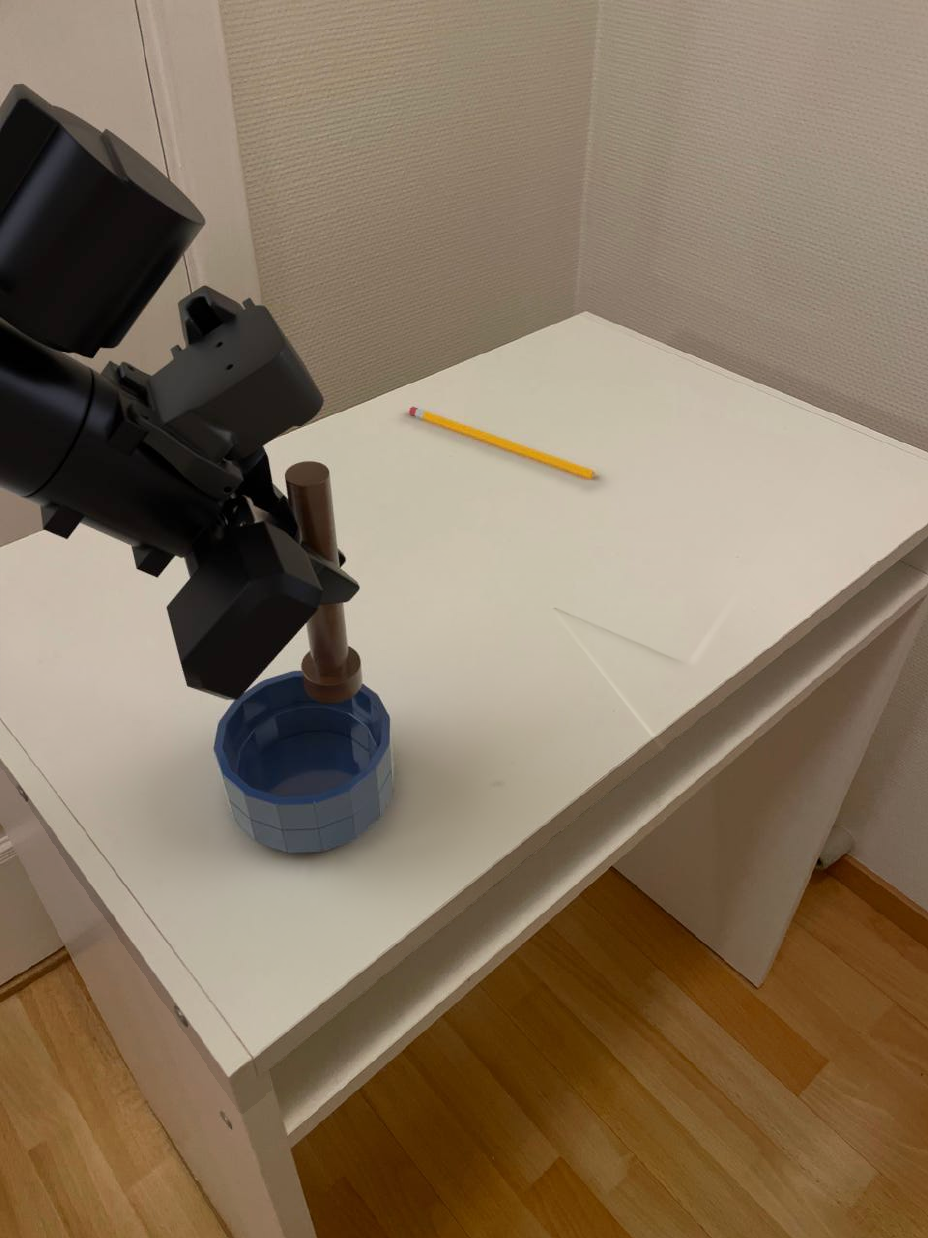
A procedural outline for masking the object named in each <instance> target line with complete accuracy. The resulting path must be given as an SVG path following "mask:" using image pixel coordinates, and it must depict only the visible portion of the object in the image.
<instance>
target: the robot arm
mask: <svg viewBox="0 0 928 1238" xmlns="http://www.w3.org/2000/svg"><path fill="white" fill-rule="evenodd" d="M204 226H206V219H205V216H204V215H203V213H202V212H201V211H200V209H199V208H198V207H197V206H196V205H195V203H193V201H191V199H190V198H189V197H188V196H187V195H186V193H184V191H183V190H181V189H180V188H179V187H178V186H177V185H176V184H175V183H174V182H173V181H172V180H170V178H169V177H167V176H166V175H165V174H164V173H163V172H161V170H159V169H158V168H157V167H156V166H155V165H154V164H152V163H151V162H150V161H149V160H148V159H147V158H145V157H144V156H143V155H142V154H141V153H140V152H138V151H137V150H135V149H134V148H133V147H131V146H130V145H129V144H128V143H127V142H126V141H124V140H123V139H122V138H120V137H119V136H117V135H116V134H115V133H114V132H112V131H110V130H109V129H108V128H104V130H103V132H102V131H101V130H99V129H98V128H97V127H96V126H94V125H92V124H91V123H89V122H88V121H87V120H84V119H83V118H81V117H80V116H78V115H76V114H75V113H73V112H71V111H69V110H67V109H65V108H63V107H60V106H57V105H52V104H51V103H50V102H48V100H46V99H45V98H43V97H42V96H40V95H39V94H38V93H37V92H35V91H34V90H33V89H31V88H30V87H29V86H27V85H26V84H24V83H15V84H13V85H12V86H11V88H10V90H9V91H8V94H6V97H5V98H4V100H3V101H2V103H1V105H0V488H1V489H3V490H5V491H7V492H10V493H12V494H15V495H16V496H19V497H20V498H22V499H25V500H27V501H29V502H32V503H34V504H36V505H39V507H40V508H39V509H40V515H41V523H42V529H43V530H44V531H46V532H49V533H51V534H53V535H56V536H58V537H61V538H63V539H65V540H68V539H69V538H70V536H71V535H72V534H73V533H74V531H75V530H76V529H77V527H78V526H79V525H80V524H81V525H84V526H86V527H88V528H91V529H93V530H95V531H96V532H100V533H102V534H104V535H107V536H108V537H110V538H113V539H115V540H118V541H120V542H122V543H124V544H127V545H128V546H129V545H130V547H131V551H132V554H133V560H134V563H135V569H136V570H138V571H140V572H143V573H145V574H147V575H150V576H152V577H154V578H157V579H158V578H159V577H160V576H161V574H162V573H163V572H164V571H165V570H166V569H167V567H168V566H169V564H170V563H171V562H172V561H173V559H174V558H175V557H178V558H179V559H184V563H185V566H186V569H187V573H188V576H189V578H188V580H187V581H186V582H185V584H184V585H183V586H182V587H181V589H180V590H178V592H177V593H176V594H175V595H174V597H173V598H172V599H171V601H170V602H169V603H168V604H167V605H166V611H167V615H168V619H169V623H170V627H171V631H172V635H173V639H174V642H175V646H176V651H177V655H178V659H179V662H180V666H181V669H182V673H183V677H184V680H185V684H186V687H188V688H191V689H193V690H197V691H200V692H201V693H206V694H208V695H211V696H213V697H217V698H219V699H222V700H225V701H234V700H238V699H239V698H240V697H241V696H242V695H243V694H244V693H245V692H246V691H247V690H249V689H250V688H251V686H252V685H253V684H254V682H255V681H256V680H257V679H259V677H260V676H261V675H262V673H264V671H265V670H266V669H267V668H268V666H269V665H271V663H272V662H273V661H274V660H275V659H276V658H277V657H278V655H279V654H280V653H281V652H282V651H283V650H284V649H285V648H286V647H287V645H288V644H290V642H291V641H292V640H293V639H294V638H295V636H296V635H297V634H299V632H300V631H301V629H302V628H304V626H306V623H307V622H308V620H309V619H310V618H311V617H312V616H313V615H314V614H315V613H316V611H317V610H318V607H319V605H325V604H335V603H343V604H345V603H348V602H350V601H351V600H352V599H353V598H354V596H356V595H357V593H358V592H359V591H360V589H361V587H360V584H359V583H358V581H357V580H356V579H354V577H352V576H351V575H349V574H348V573H347V572H346V571H345V570H343V569H342V567H343V566H344V564H346V562H347V557H346V555H345V553H344V552H342V550H341V549H340V548H338V557H339V567H340V568H339V567H338V566H337V565H335V564H334V563H333V562H331V561H330V560H329V559H327V558H326V557H324V556H323V555H322V554H320V553H319V552H318V551H316V550H315V549H314V548H312V547H311V546H309V545H308V544H307V543H305V542H304V541H303V540H302V534H301V529H300V527H299V524H298V522H297V520H296V518H295V516H294V513H293V511H292V509H291V507H290V504H289V502H288V496H286V495H285V494H284V493H283V492H282V491H281V490H280V488H278V487H277V486H276V485H275V484H274V482H273V477H272V470H271V464H270V459H269V456H268V453H267V451H266V449H265V445H267V444H268V443H270V442H271V441H273V440H275V439H276V438H278V437H279V436H281V435H282V434H285V432H287V431H289V430H290V429H291V428H293V427H302V426H305V425H306V424H307V423H309V422H311V420H313V419H315V417H316V416H318V414H319V413H320V412H321V410H322V408H323V406H324V402H325V398H324V396H323V393H322V392H321V389H320V388H319V387H318V385H317V384H316V382H315V380H314V378H313V376H312V375H311V373H310V371H309V369H308V368H307V366H306V364H305V363H304V361H303V360H302V358H301V357H300V355H299V354H298V352H297V351H296V349H295V348H294V346H293V345H292V343H291V341H290V340H289V339H288V337H287V336H286V334H285V333H284V331H283V330H282V328H281V327H280V325H279V323H278V322H277V321H276V319H275V318H274V316H273V315H272V313H271V312H270V310H269V309H268V308H267V306H265V305H261V304H255V303H254V301H253V300H252V298H251V297H248V298H246V299H245V300H243V301H242V305H243V306H242V305H241V304H240V303H239V302H238V301H236V300H234V299H233V298H230V297H229V296H227V295H225V294H223V293H221V292H219V291H217V290H216V289H214V288H212V287H210V286H208V285H206V284H205V285H202V286H200V287H198V288H197V289H196V290H194V291H192V292H190V293H189V294H187V296H185V297H183V298H182V299H180V300H179V301H178V302H177V309H178V313H179V319H180V325H181V333H182V337H183V340H184V342H185V348H182V347H181V346H180V345H179V344H175V345H174V346H173V347H171V348H170V352H171V355H172V359H171V360H170V361H169V362H168V363H167V364H166V365H164V366H163V367H162V368H160V369H159V370H157V371H156V372H155V373H154V374H152V375H151V374H150V373H149V374H148V373H146V372H144V371H142V370H140V369H139V368H137V367H136V366H134V365H132V364H130V363H129V362H126V361H121V362H120V364H117V363H115V362H114V361H112V360H109V361H108V362H107V364H106V365H105V366H104V368H103V369H102V371H101V372H99V371H97V370H95V369H93V368H92V367H90V366H88V365H86V364H85V363H82V361H79V360H77V359H75V358H74V357H72V356H70V355H68V354H76V355H78V356H81V357H85V358H88V359H94V358H95V356H96V355H97V353H98V352H99V351H100V349H116V348H117V347H118V346H119V345H120V344H121V343H122V341H123V340H124V339H125V337H126V336H127V334H128V333H129V332H130V330H131V329H132V327H133V326H134V325H135V323H136V322H137V321H138V319H139V317H140V316H141V315H142V313H143V312H144V310H145V309H146V308H147V306H148V305H149V304H150V302H151V301H152V299H153V298H154V297H155V296H156V294H157V292H158V291H159V290H160V288H161V286H162V285H163V284H164V283H165V281H166V279H167V278H168V277H169V275H170V274H171V273H172V271H173V270H174V268H175V267H176V265H177V264H178V263H179V262H180V260H181V259H182V258H183V256H184V255H185V253H186V252H187V250H188V249H189V247H190V246H191V245H192V243H193V242H194V240H196V238H197V236H198V235H199V233H200V232H201V230H202V229H203V228H204Z"/></svg>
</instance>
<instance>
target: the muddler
mask: <svg viewBox="0 0 928 1238" xmlns="http://www.w3.org/2000/svg"><path fill="white" fill-rule="evenodd" d="M330 475H331V473H330V469H329V467H328V466H327V465H326V464H323V463H321V462H319V461H314V460H313V461H312V460H305V461H300V462H296V463H294V464H292V465H291V466H289V467H288V468H287V469H286V470H285V472H284V480H285V488H286V495H287V498H288V502H289V504H290V507H291V509H292V511H293V513H294V516H295V518H296V520H297V522H298V524H299V527H300V529H301V534H302V540H303V541H304V542H305V543H307V544H308V545H309V546H311V547H312V548H314V549H315V550H316V551H318V552H319V553H320V554H322V555H323V556H324V557H326V558H327V559H329V560H330V561H331V562H333V563H334V564H335V565H337V566H338V567H339V557H338V549H339V548H338V539H337V530H336V522H335V512H334V511H335V509H334V503H333V502H334V501H333V494H332V492H333V491H332V483H331V476H330ZM339 568H340V567H339ZM345 615H346V614H345V603H335V604H325V605H319V607H318V610H317V611H316V613H315V614H314V615H313V616H312V617H311V618H310V619H309V620H308V622H307V623H306V624H305V626H306V631H307V633H306V634H307V638H308V639H307V640H308V646H309V651H307V653H306V654H305V655H304V656H303V658H302V660H301V664H300V667H301V668H300V669H301V670H300V671H302V676H303V683H304V688H305V691H306V693H307V694H308V695H309V696H310V697H311V698H312V699H314V700H316V701H318V702H321V703H327V704H334V703H340V702H344V701H346V700H348V699H350V698H352V697H353V696H354V695H356V694H357V692H358V691H359V690H360V688H361V686H362V683H363V671H362V660H361V657H360V654H359V653H358V652H357V651H356V649H354V647H351V646H350V645H349V644H348V643H349V642H348V632H347V623H346V616H345Z"/></svg>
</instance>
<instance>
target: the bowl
mask: <svg viewBox="0 0 928 1238" xmlns="http://www.w3.org/2000/svg"><path fill="white" fill-rule="evenodd" d="M212 749H213V754H214V757H215V762H216V765H217V768H218V771H219V775H220V779H221V783H222V786H223V790H224V793H225V797H226V801H227V803H228V806H229V809H230V812H231V815H232V818H233V821H234V822H235V824H236V825H237V826H238V827H239V828H240V829H241V830H242V831H244V832H245V833H246V834H247V835H248V836H249V837H250V839H252V840H253V841H255V842H256V843H258V844H260V845H263V846H266V847H268V848H272V849H274V850H278V851H281V852H284V853H288V854H293V853H294V854H296V853H299V854H300V853H320V852H321V853H322V852H326V851H328V850H331V849H334V848H337V847H339V846H341V845H345V844H347V843H349V842H352V841H355V840H357V838H359V837H360V836H361V835H362V834H363V833H364V832H366V831H367V830H368V829H369V828H370V827H372V826H373V825H374V824H375V823H376V822H378V820H380V818H381V817H382V815H383V813H384V811H385V809H386V808H387V805H388V803H389V801H390V800H391V798H392V795H394V794H393V793H394V785H395V784H394V783H395V781H394V775H395V774H394V773H395V772H394V771H395V766H394V765H395V764H394V752H393V751H394V750H393V737H392V723H391V717H390V714H389V713H388V711H387V709H386V707H385V705H384V703H383V702H382V700H381V697H380V696H379V694H378V693H377V692H375V691H374V690H372V689H371V688H370V687H368V686H367V685H366V684H364V683H363V682H362V686H361V688H360V690H359V691H358V692H357V694H356V695H354V696H353V697H352V698H350V699H348V700H346V701H344V702H340V703H334V704H327V703H321V702H318V701H316V700H314V699H312V698H311V697H310V696H309V695H308V694H307V693H306V691H305V688H304V683H303V676H302V670H291V671H287V672H285V673H282V674H279V675H276V676H272V677H269V678H266V679H263V680H261V681H259V682H257V683H256V684H255V685H253V686H252V687H249V688H248V689H247V690H246V691H245V692H244V694H243V695H242V696H241V697H240V698H239V699H238V700H233V701H232V703H231V704H230V705H229V706H228V709H227V710H226V711H225V712H224V714H223V716H222V717H221V718H220V719H219V721H218V723H217V728H216V733H215V737H214V743H213V748H212Z"/></svg>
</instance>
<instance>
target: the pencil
mask: <svg viewBox="0 0 928 1238" xmlns="http://www.w3.org/2000/svg"><path fill="white" fill-rule="evenodd" d="M408 413H409V415H410V416H411V417H414V418H417V419H420V420H423V421H425V422H429V423H431V424H434V425H437V426H439V427H442V428H445V429H447V430H451V431H454V432H456V433H460V434H462V435H465V436H467V437H470V438H473V439H476V440H479V441H482V442H485V443H487V444H490V445H493V446H495V447H497V448H501V449H504V450H506V451H509V452H512V453H515V454H517V455H521V456H523V457H526V458H529V459H532V460H535V461H537V462H540V463H543V464H546V465H548V466H552V467H554V468H556V469H559V470H563V471H564V472H568V473H570V474H574V475H576V476H580V477H582V478H585V479H587V480H592V479H594V476H595V470H593V469H590V468H588V467H585V466H582V465H579V464H576V463H574V462H571V461H568V460H565V459H562V458H559V457H557V456H554V455H551V454H549V453H546V452H542V451H540V450H538V449H534V448H531V447H530V446H529V447H528V446H526V445H523V444H520V443H517V442H515V441H512V440H509V439H506V438H503V437H501V436H497V435H495V434H492V433H489V432H486V431H483V430H480V429H477V428H475V427H472V426H469V425H466V424H463V423H461V422H458V421H455V420H452V419H450V418H446V417H444V416H441V415H438V414H436V413H432V412H430V411H427V410H424V409H421V408H419V407H415V406H412V407H410V408H409V410H408Z"/></svg>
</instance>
